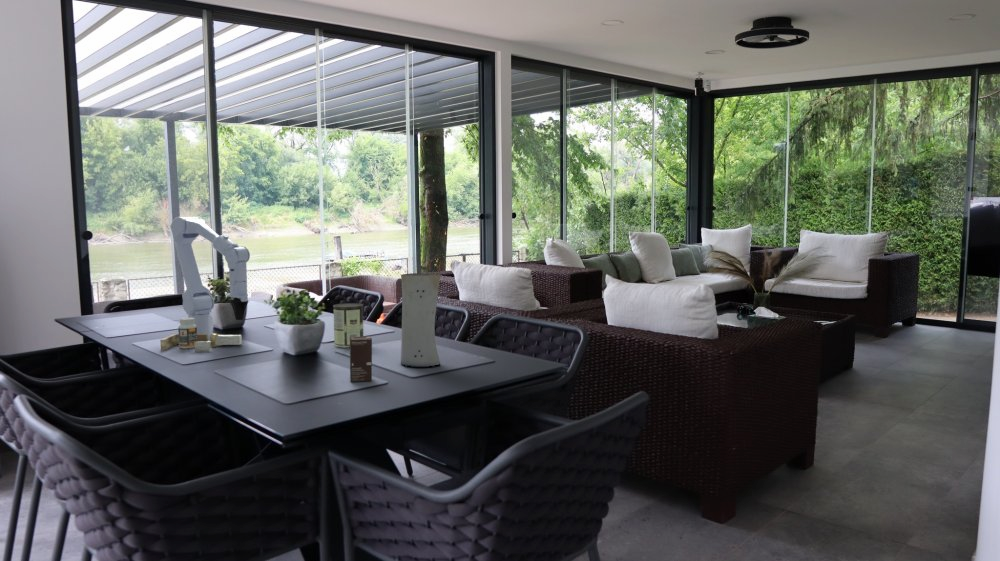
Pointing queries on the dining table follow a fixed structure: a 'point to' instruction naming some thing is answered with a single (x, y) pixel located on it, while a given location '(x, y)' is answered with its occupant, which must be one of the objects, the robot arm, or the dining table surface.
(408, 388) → the dining table surface
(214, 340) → the bar
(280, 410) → the dining table surface
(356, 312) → the coffee can
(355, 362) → the box
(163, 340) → the oak jamb corner
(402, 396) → the dining table surface
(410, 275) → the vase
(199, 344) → the bracket
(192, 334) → the pill bottle
